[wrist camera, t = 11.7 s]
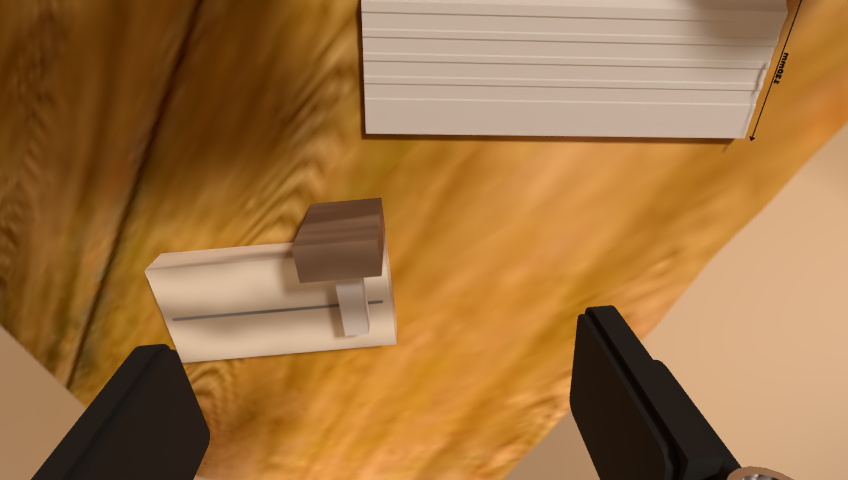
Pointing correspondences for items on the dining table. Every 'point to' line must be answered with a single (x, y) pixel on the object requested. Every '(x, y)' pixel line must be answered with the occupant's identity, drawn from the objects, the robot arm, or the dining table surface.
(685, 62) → the baseboard
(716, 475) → the robot arm
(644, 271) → the dining table surface
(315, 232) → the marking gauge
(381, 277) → the birch plank
